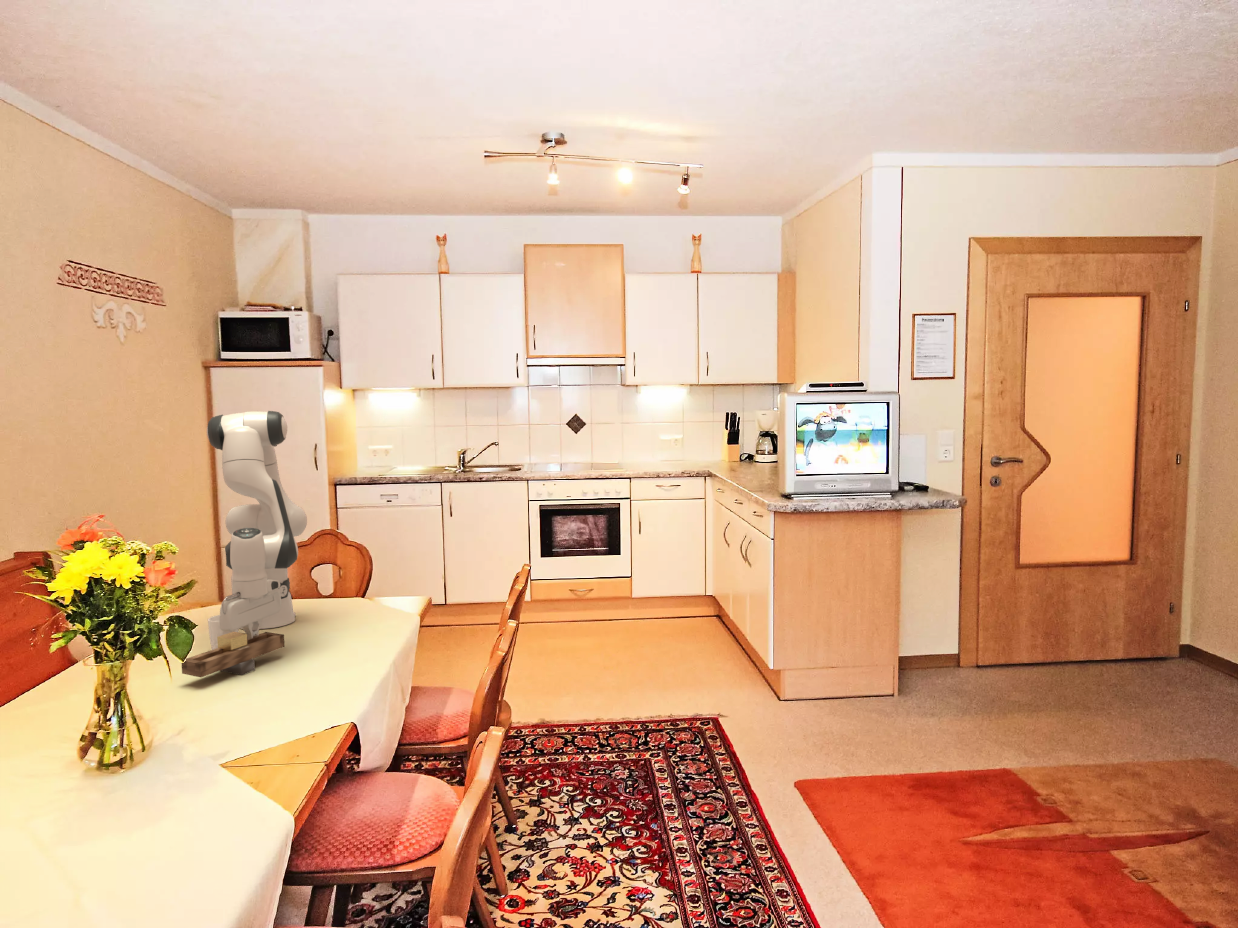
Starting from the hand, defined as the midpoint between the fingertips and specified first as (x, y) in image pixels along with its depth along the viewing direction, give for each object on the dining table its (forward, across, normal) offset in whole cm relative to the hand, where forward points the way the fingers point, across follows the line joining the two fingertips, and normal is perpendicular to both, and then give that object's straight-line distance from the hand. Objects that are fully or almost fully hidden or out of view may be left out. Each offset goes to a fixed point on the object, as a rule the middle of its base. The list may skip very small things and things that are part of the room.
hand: (252, 637), depth 210 cm
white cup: (+8, +7, +16) cm, 19 cm away
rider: (+3, -6, +1) cm, 7 cm away
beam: (+7, -6, +1) cm, 9 cm away
